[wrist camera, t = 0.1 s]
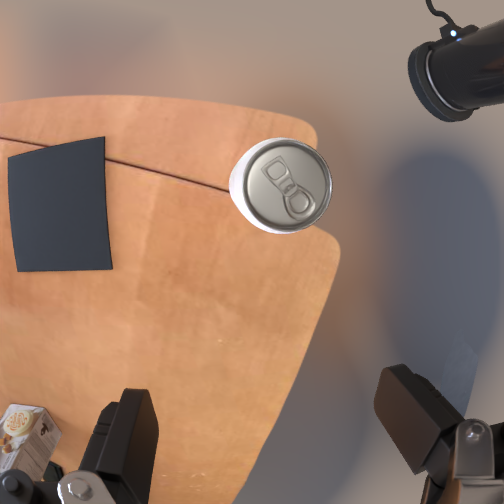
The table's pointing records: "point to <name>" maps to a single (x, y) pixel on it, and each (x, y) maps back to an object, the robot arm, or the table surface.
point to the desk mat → (60, 208)
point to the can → (281, 185)
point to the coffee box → (27, 440)
